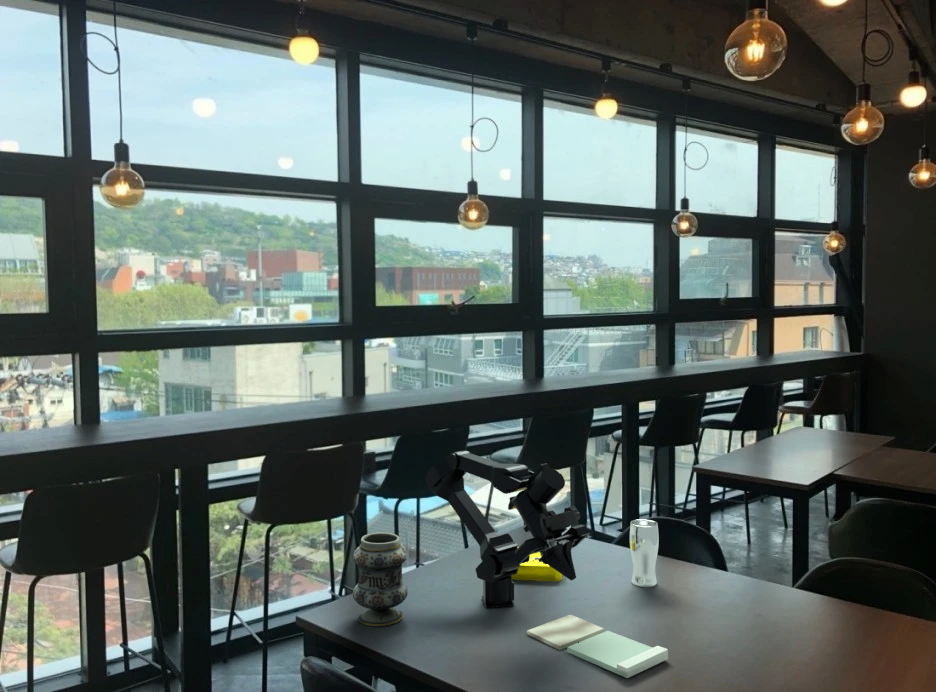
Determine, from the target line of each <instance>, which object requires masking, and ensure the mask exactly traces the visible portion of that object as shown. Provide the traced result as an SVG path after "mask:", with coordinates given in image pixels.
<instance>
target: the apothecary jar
mask: <svg viewBox="0 0 936 692" xmlns="http://www.w3.org/2000/svg"><path fill="white" fill-rule="evenodd" d="M352 557H353V561H354V563H355V564H356V565H357V566H358V583H357V584H356V585H355V586H354V588H353V591H352V597H353V600H354V601H355V603H356V604H358V605H359V606H360V607H362V608H365V609H366V610H364V611H362V612H361V613H360V614H359V615H358V621H359V622H360V624H362V625H364V626H369V627H377V626H378V627H387V626H386V625H388V626H392V625H395V624H398V623H399V622H400V620H401V619H402V620H403V618H404V614H403V612H402V610H399V609H397V608H396V607H398V606H399V605H401V604H402V603H403V602H405V600H406V599H407V597H408V592H409V591H408V587H407V585H406V583H404V581H403V563H405V561H406V560H407V557H408V551H407V549H406V547H405V546H403V544H401V540H400V536H398V534H395V533H391V532H373V533H372V532H371V533H368V534H364V535H363V536H362V537H361V539H360V544H359V546H358V547H357V548H356V549H355V550H354V553H353V556H352ZM402 620H401V621H402ZM398 621H399V622H398ZM394 623H395V624H394ZM391 624H392V625H391Z"/></svg>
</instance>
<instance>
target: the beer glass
mask: <svg viewBox="0 0 936 692" xmlns="http://www.w3.org/2000/svg"><path fill="white" fill-rule="evenodd" d="M658 525H659V524H658V522H657V521H654V520H651V519H645V518H644V519H642V518H641V519H634V520H631V521H630V527H629V529H630V530H629V547H630V548H629V549H630V555H631V561H632V567H633V569H632V576H631V583H632V585H634V586H636V587H641V588H652V587H655V586H657V584H658V582H657V576H656V565H657V564H656V563H657V558H658V552H659V542H660V541H659V539H660V537H659V536H660V535H659V526H658Z"/></svg>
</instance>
